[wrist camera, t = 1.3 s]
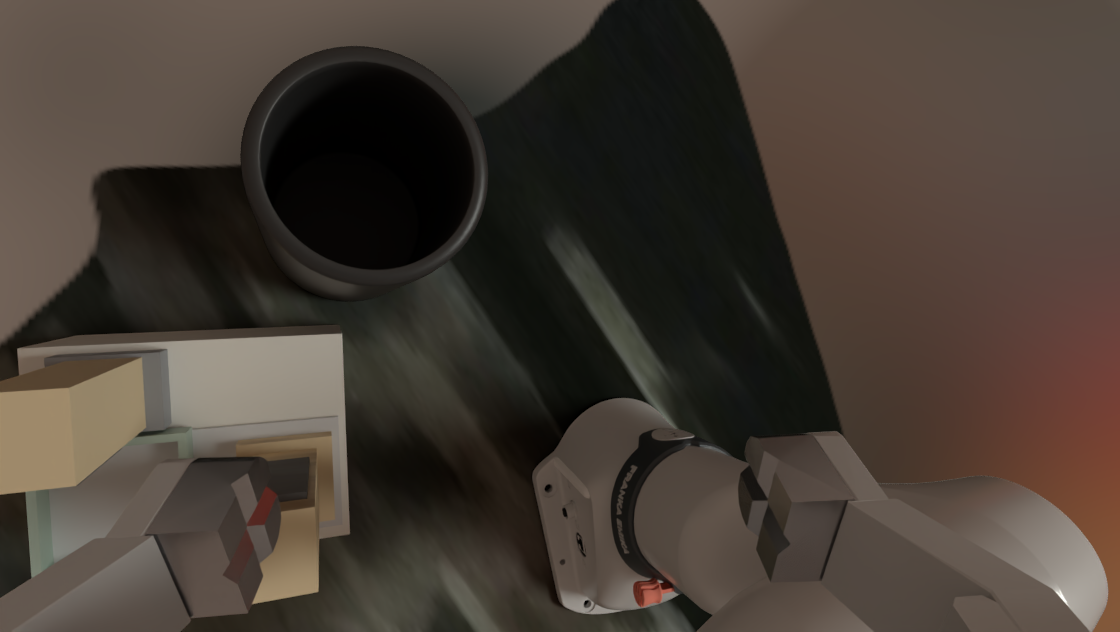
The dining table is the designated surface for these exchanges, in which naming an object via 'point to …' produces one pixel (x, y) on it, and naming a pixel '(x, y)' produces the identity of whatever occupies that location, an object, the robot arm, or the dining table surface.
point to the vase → (362, 171)
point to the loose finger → (295, 509)
